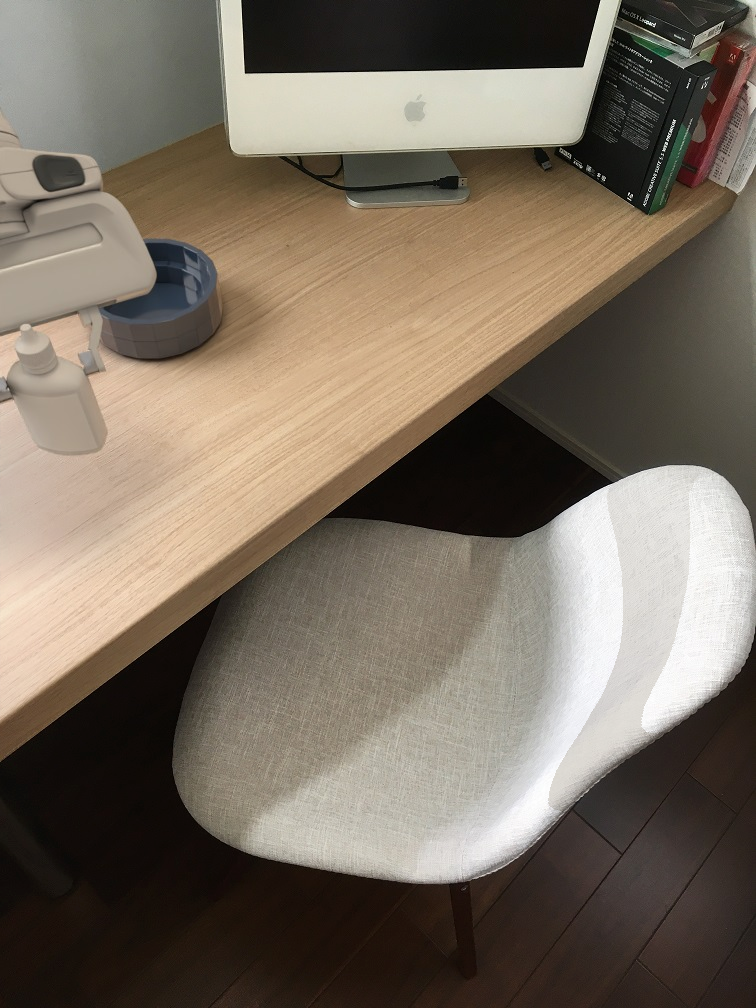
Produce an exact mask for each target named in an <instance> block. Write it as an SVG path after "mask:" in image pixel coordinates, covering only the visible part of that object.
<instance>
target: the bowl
mask: <svg viewBox="0 0 756 1008" xmlns="http://www.w3.org/2000/svg"><path fill="white" fill-rule="evenodd" d="M142 239H143V241H144V243H145V245H146V247H147V250H148V252H149V254H150V257H151V259H152V261H153V264H154V267H155V270H156V274H157V276H156V281H155V284H154V286H153V288H152V289H151V291H150V292H149V293H148V294H146V295H142V296H139V297H136V298H132V299H129V300H125V301H122V302H118V303H115V304H111V305H108V306H105V307H101V308H98V309H99V312H100V314H101V317H102V319H103V323H102V330H101V336H100V342H101V344H102V345H103V346H105V347H107V348H108V349H110V350H112V351H114V352H116V353H117V354H119V355H123V356H126V357H131V358H135V359H164V358H165V359H166V358H169V357H174V356H179V355H181V354H184V353H186V352H188V351H191V350H193V349H196V348H198V347H199V346H201V345H202V344H203V343H204V342H206V341H207V340H208V339H209V338H210V337H212V336H213V335H214V334H215V332H216V330H217V328H218V327H219V325H220V324H221V322H222V317H223V301H222V294H221V287H220V281H219V273H218V271H217V268H216V266H215V263H214V261H213V260H212V258H210V256H209V255H208V254H206V252H204V251H203V250H202V249H200V248H198V247H196V246H194V245H192V244H190V243H188V242H184V241H180V240H177V239H171V238H142Z"/></svg>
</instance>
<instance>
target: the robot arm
mask: <svg viewBox="0 0 756 1008" xmlns="http://www.w3.org/2000/svg"><path fill="white" fill-rule="evenodd" d="M143 239H144V238H143V237H142V235H141V233H140V231H139V229H138V228H137V225H136V223H135V221H134V220H133V218H132V216H131V214H130V213H129V211H128V210H127V208H126V206H124V204H123V203H122V202H121V201H119V199H117V198H116V197H115V196H113V195H112V194H111V193H108V192H105V191H104V180H103V176H102V172H101V169H100V167H99V164H98V162H97V161H96V160H95V159H94V158H93V157H92V156H89V155H86V154H79V153H69V152H68V153H67V152H56V151H45V150H38V149H37V150H35V149H27V148H24V147H23V145H22V143H21V140H20V139H19V136H18V134H17V132H16V130H15V129H14V128H13V126H12V125H11V124H10V122H9V121H8V119H7V118H6V116H5V114H4V112H3V111H2V109H1V107H0V337H5V336H7V335H8V336H9V335H11V334H14V333H15V334H16V333H18V332H21V331H20V327H21V325H23V324H29V325H30V326H31V327H32V328H35V327H39V326H42V325H45V324H50V323H52V322H56V321H60V320H63V319H66V318H70V317H73V316H76V315H77V316H78V318H79V320H80V322H81V325H82V328H84V329H88V328H90V327H91V329H90V334H89V339H88V348H87V350H84V351H82V352H79V353H77V357H78V360H79V362H80V364H81V365H82V366H83V367H82V368H83V369H84V371H85V373H86V375H87V377H88V378H89V377H92V376H96V375H99V374H103V373H105V372H107V369H106V366H105V364H104V361H103V358H102V356H101V353H100V351H99V346H100V342H101V341H100V336H101V330H102V323H103V319H102V317H101V314H100V312H99V309H98V308H101V307H105V306H108V305H111V304H115V303H118V302H122V301H125V300H129V299H132V298H136V297H139V296H142V295H146V294H148V293H149V292H150V291H151V289H152V288H153V286H154V284H155V281H156V276H157V274H156V270H155V267H154V264H153V261H152V259H151V257H150V254H149V252H148V250H147V247H146V245H145V243H144V241H143ZM12 401H13V402H14V397H13V395H12V393H11V391H9V388H8V384H7V379H6V377H5V376H0V405H4V404H7V403H10V402H12Z"/></svg>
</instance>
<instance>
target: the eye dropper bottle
mask: <svg viewBox="0 0 756 1008" xmlns="http://www.w3.org/2000/svg"><path fill="white" fill-rule="evenodd" d="M19 332H20V335H19V336H18V337H17V338H16V340H15V341H14V344H13V348H14V350H15V353H16V355H17V357H18V360H17V361H15V362H14V363H13V364H12V365H11V367H10V368H9V369H8V372H7V375H6V377H5V379H6V381H7V384H8V390H9V391H11V393H12V395H13V397H14V400H13V402H14V404H15V406H16V408H17V410H18V412H19V415H20V416H21V418H22V420H23V423H24V424H25V427H26V430H27V431H28V433H29V435H30V437H31V439H32V441H33V443H34V444H35V445H36V447H37V448H39V449H41V450H43V451H45V452H48V453H51V454H54V455H59V456H66V457H67V456H70V457H73V456H74V457H77V456H87V455H92V454H96V453H98V452H100V451H102V450H103V448H104V446H105V444H106V441H107V437H108V434H109V432H108V427H107V425H106V422H105V419H104V416H103V413H102V411H101V408H100V405H99V402H98V399H97V397H96V393H95V392H94V391H95V390H94V389H93V386H92V383H91V381H90V378H89V377H87V375H86V373H85V371H84V369H83V368H84V367H82V366H81V365H79V364H77V363H75V362H74V361H71V360H69V359H66V358H64V357H62V356H57V354H56V352H55V351H56V350H55V349H54V346H53V343H52V342H51V341H52V340H51V339H50V337H49V335H48V334H47V333H45V332H43V331H38V330H34V327H31V326H30V325H29V324H23V325H21V327H20V331H19Z"/></svg>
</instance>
